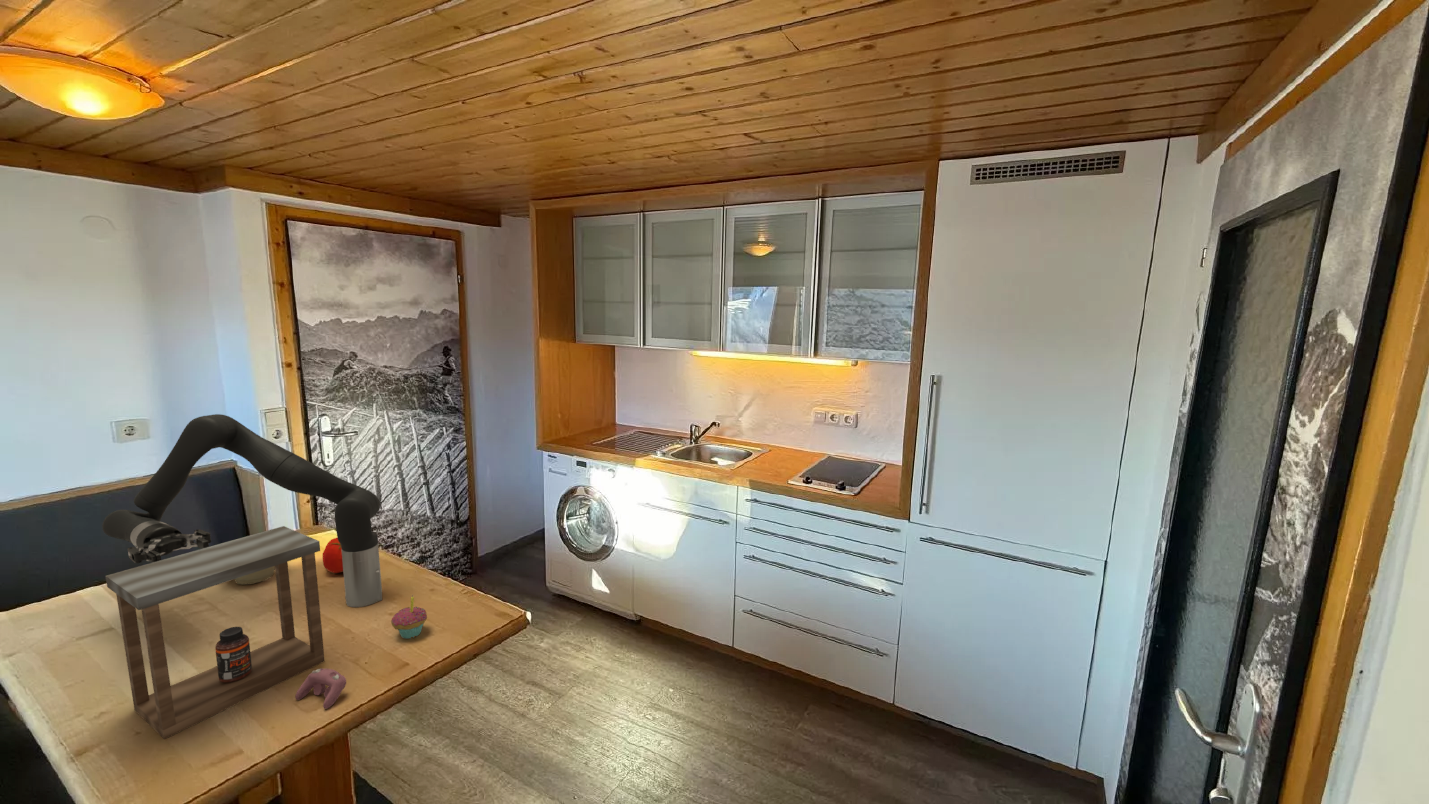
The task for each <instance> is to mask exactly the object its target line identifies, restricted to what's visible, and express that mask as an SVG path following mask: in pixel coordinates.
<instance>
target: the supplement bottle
mask: <svg viewBox="0 0 1429 804" xmlns="http://www.w3.org/2000/svg"><path fill="white" fill-rule="evenodd" d="M250 645H251V644H250V638H249V636H248V635H247V634H245V633H244V632H243V627H241V626H232V627H228V628H225V629H223V630H222V631H221V632H220V633H219V640H218V642H216V645H215V649H214V650H215V655H216V657H215V658H216V665H217V668H218V677H219V680H220V681H221V682H227V683H228V682H234V681H238V680H240V679H242V678H244V677H246V676H247V675H248V674H249V673H250V672H251V671H252V664H251V654H250V652H251V646H250Z"/></svg>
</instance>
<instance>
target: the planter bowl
mask: <svg viewBox="0 0 1429 804" xmlns="http://www.w3.org/2000/svg"><path fill="white" fill-rule="evenodd" d="M273 576H275V566H273V567H270V568H267V569H264V570H261V571H257V572H254V573H251V574H248V575H245V576H242V577H239V578H236V579H234V581H235V583H236V584H238V585H253V584H258V583H261V582H265V581H266V580H268V579H270V578H272V577H273Z"/></svg>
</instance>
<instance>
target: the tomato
mask: <svg viewBox="0 0 1429 804" xmlns="http://www.w3.org/2000/svg"><path fill="white" fill-rule="evenodd" d="M322 564H323V567H324V569H326V570H327V571H328V572H329V573H334V574H339V573H340V574H341V573H343V561H342V550H341V544H340V542H339V541H338V538H337V537H334V538H332V539H330V540H329V541H328V542H327V544H326V545H325V547H324V550H323V552H322Z"/></svg>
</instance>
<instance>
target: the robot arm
mask: <svg viewBox="0 0 1429 804" xmlns="http://www.w3.org/2000/svg"><path fill="white" fill-rule="evenodd" d="M218 448H221V449H224V450H227V451H229V452H231V453H232V454H233V453H234V454H236V455H237V456H240V457H241V458H243V459H245V460H246V461H247V462H248V463H250V464H251V465H252V466H253V468H254V469H255V470H256V471H257V472H258V474H260V476H262V477H263V478H264V479H265V480H268V481H270V482H271V483H274V484H276V485H277V486H278V487H280V488H283V489H285V490H287V491H290V492H293V493H298V494H303V495H306V496H312V497H313V496H314V497H318V498H322V499H325V500H328V501H330V502H331V503H334V504H335V505H336V506H335V509H334V521H335V529H336V530H335V532H336V538H338V541H339V542H340V544H341V550H342V561H343V571H342V573H343V584H344V595H345V596H344V597H345V604H347V605H346V606H347V607H351V608H362V607H367V606H370V605H372V604H375V603H377V602H380V601H382V600H383V590H382V589H383V588H382V575H381V563H380V562H381V561H380V553H379V552H380V551H379V538H378V537H379V536H378V534H377V533H376V532H375V531H373V530H372V522H371V521H372V518H374V516H376V514H377V513H379V511H380V509H381V508H380V507H381V502H380V499H379V497H378V496H377V495H376V494H375V493H373V491H371V490H369V489H366V488H363V487H361V486H359V485H357V484H354V483H351V482H349V481H346V480H344V479H342V478H340V477H339V476H336V475H335V474H333V473H331V472H329V471H327V470H325V469H324V468H321V467H320V466H318V465H316V464H314V463H312V462H311V461H309V460H308V459H305V458H303V457H301V456H299V455H297V454H296V453H294V452H292V451H290V450H288V449H285V448H284V447H281V446H280V445H278V444H276V443H274V442H273V441H270V440H268V439H267V438H266V439H265V438H264V437H262V436H260V435H259V434H257V433H255V432H254V431H253V430H252V429H250V428H247V427H246V426H245V425H244V424H243V423H241V422H239V421H238V420H236V419H234V418H233V417H231V416H229V415H226V414H221V413H216V414H215V413H214V414H209V415H208V414H207V415H202V416H198V417H196V418H195V417H194V418H193V419H192V420H190V421H189V422H188V423H187V424H186V426H185V427H184V429H183V431H182V432H181V434H180V435H179V438H177V441H176V443H175V445H174V446H173V447H172V449H171V451H170V452H169V454H168V456H167V457H166V459H165V460H164V461H163V463H162V464H161V465H160V467H159V468H158V470H157V471H156V472H155V473H154V474H153V475H152V477H151V478H150V479H149V480H148V481H147V482H146V483H145V485H144V486H143V487H142V488H141V489H140V491H138V493H137V494H136V495H135V497H134V499H133V503H134V506H136V507H137V508H139V509H141V510H142V511H145V512H146V513H144V512H140V511H139V512H138V511H134V510H129V509H117V510H114V511H112V512H111V513H108V515H106V516H105V518H104V520H103V521H102V524H101V525H102V526H101V528H102V531H103V533H104V534H105V535H106V536H108V537H110V538H115V539H118V540H122V541H126V542H129V543H130V544H132V545H133V546H129V547H128V548H127V552H128V553H127V554H128V558H129V560H131V561H132V562H133V563H134V564H140V563H143V561H146V562H150V563H153V562H157V561H160V560H162V557H164V556H167V555H169V554H172V553H173V552H174V551H178V550H190V549H191V548H199V550H200V549H203V548H207V547H210V543H212V539H211V538H212V537H211V532H208V531H206V530H202V529H200V528H199V529H195V530H194V533H189V534H188V533H183V532H181V531H180V530H179V529H177V528H176V527H175V526H173V525H170V524H169V523H168V524H167V523H166V522H163V521H161V520H162V518H163V515H164V514H165V512H166V510H167V508H168V506H170V504H171V503H172V502H173V500H174V499H175V498H176V497H177V496H178V495H179V493H180V492H181V491H182V490H183V488H184V487H185V485H186V483H187V481H188V478H189V475H190V473H191V471H192V470H193V467H194V466H195V465H196V463H198V461H199V460H200V459H202V457H204V456H205V455H206V454H208V453H209V452H210V451H211V450H213V449H218ZM194 540H195V541H194Z"/></svg>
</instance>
